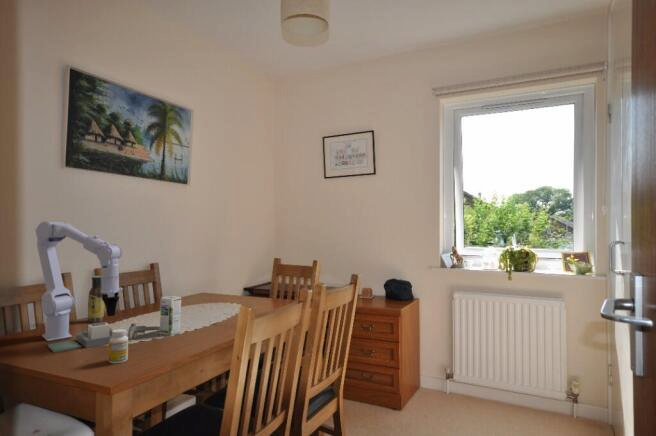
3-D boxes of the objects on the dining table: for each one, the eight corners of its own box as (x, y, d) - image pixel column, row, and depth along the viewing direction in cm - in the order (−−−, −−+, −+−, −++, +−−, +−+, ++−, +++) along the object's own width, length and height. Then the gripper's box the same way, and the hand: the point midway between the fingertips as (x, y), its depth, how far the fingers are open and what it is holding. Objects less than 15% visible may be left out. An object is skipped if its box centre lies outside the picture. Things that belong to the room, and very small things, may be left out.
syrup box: (159, 334, 161) (159, 297, 161) (170, 330, 167) (170, 295, 167) (170, 335, 159) (171, 298, 159) (181, 332, 165) (181, 296, 165)
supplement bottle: (113, 358, 132) (114, 328, 132) (130, 358, 133) (131, 328, 133) (105, 364, 127) (106, 332, 127) (123, 363, 127) (124, 332, 127)
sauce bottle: (85, 321, 180) (86, 276, 180) (100, 318, 184) (101, 275, 185) (91, 323, 175) (92, 277, 176) (106, 321, 180) (107, 276, 181)
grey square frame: (76, 339, 152) (76, 333, 152) (109, 334, 160) (109, 327, 160) (86, 348, 142) (86, 340, 142) (121, 341, 150) (121, 334, 150)
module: (87, 341, 150) (88, 323, 150) (105, 338, 155) (105, 320, 155) (91, 344, 147) (91, 325, 147) (109, 340, 151) (109, 323, 151)
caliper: (130, 341, 152) (130, 324, 152) (127, 340, 152) (128, 324, 152) (171, 328, 171) (171, 313, 171) (169, 328, 171) (170, 313, 171)
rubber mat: (47, 345, 144) (47, 344, 144) (73, 341, 150) (73, 339, 150) (53, 352, 137) (53, 350, 137) (80, 347, 142) (80, 346, 142)
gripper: (123, 278, 147) (123, 316, 147) (121, 274, 160) (121, 309, 159) (100, 280, 143) (101, 318, 143) (100, 276, 156) (101, 311, 156)
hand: (110, 314), depth 151 cm, fingers open, 7 cm apart
